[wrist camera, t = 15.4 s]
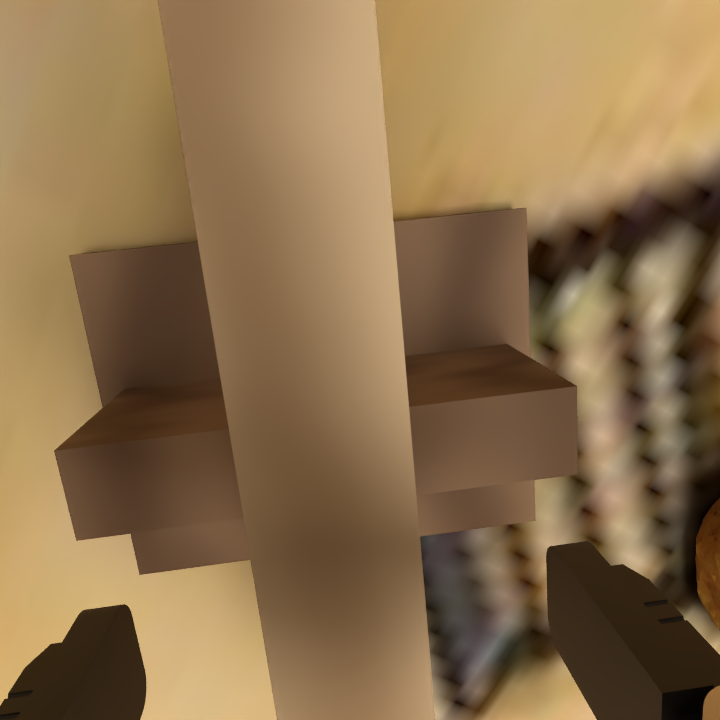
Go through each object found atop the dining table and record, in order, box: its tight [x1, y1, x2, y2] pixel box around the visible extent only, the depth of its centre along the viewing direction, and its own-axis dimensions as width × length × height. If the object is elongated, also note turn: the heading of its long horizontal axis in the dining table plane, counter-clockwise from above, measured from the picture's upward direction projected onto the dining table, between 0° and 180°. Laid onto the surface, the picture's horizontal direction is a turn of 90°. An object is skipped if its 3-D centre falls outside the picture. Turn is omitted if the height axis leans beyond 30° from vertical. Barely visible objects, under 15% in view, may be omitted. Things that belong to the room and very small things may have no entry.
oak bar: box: [158, 0, 435, 720], centre depth 15 cm, size 4×22×6 cm, turn 6°
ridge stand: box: [54, 208, 578, 575], centre depth 22 cm, size 18×14×8 cm
